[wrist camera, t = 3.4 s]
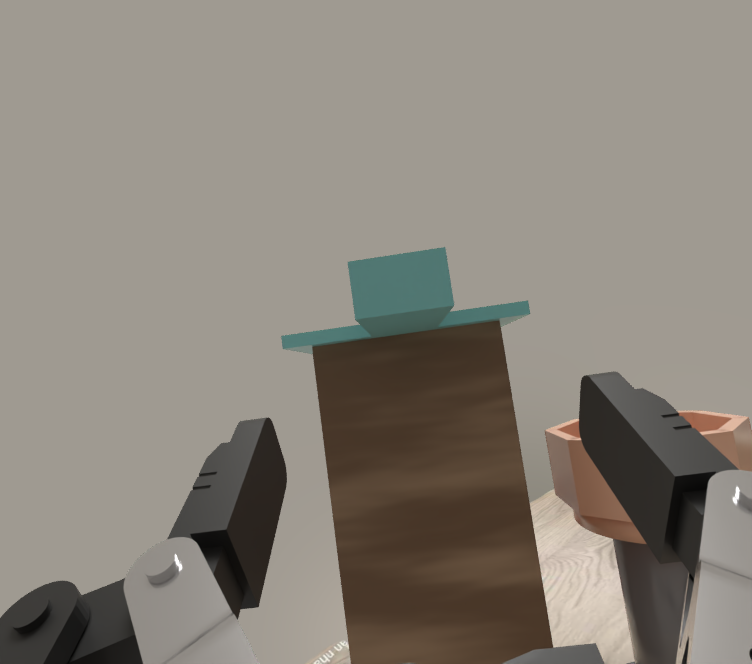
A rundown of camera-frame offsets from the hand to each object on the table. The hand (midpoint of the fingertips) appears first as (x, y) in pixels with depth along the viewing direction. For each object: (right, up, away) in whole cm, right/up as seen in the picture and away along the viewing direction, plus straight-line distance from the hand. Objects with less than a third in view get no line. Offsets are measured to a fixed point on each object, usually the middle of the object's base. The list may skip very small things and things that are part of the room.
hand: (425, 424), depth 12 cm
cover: (+1, +2, +18) cm, 18 cm away
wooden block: (+5, -28, +20) cm, 35 cm away
